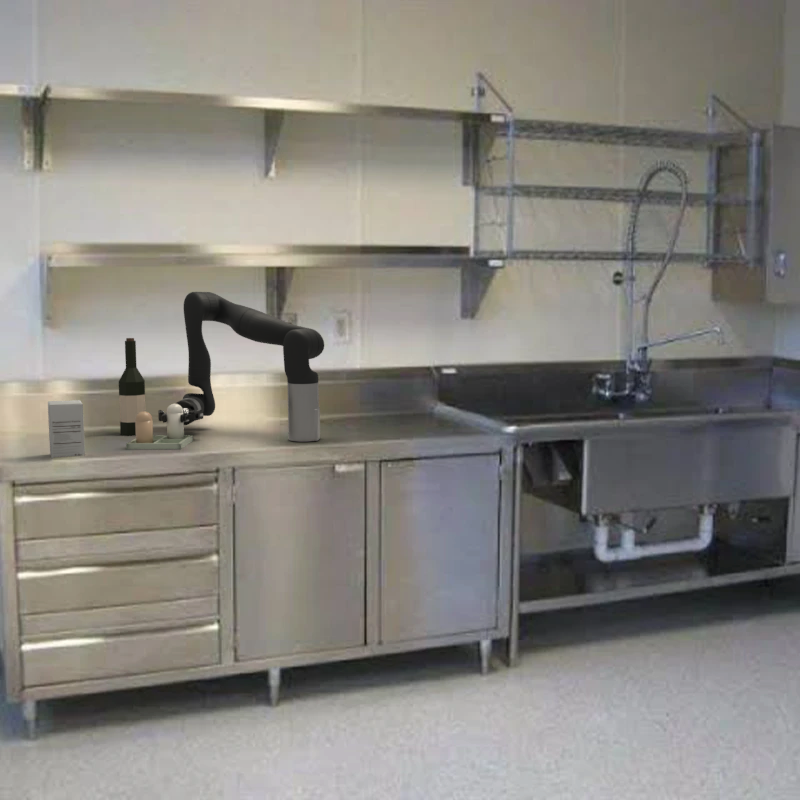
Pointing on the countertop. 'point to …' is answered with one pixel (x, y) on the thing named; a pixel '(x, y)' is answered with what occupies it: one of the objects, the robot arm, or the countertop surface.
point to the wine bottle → (130, 391)
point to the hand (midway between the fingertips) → (172, 418)
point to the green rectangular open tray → (161, 443)
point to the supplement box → (66, 428)
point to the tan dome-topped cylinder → (144, 427)
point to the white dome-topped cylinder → (174, 422)
